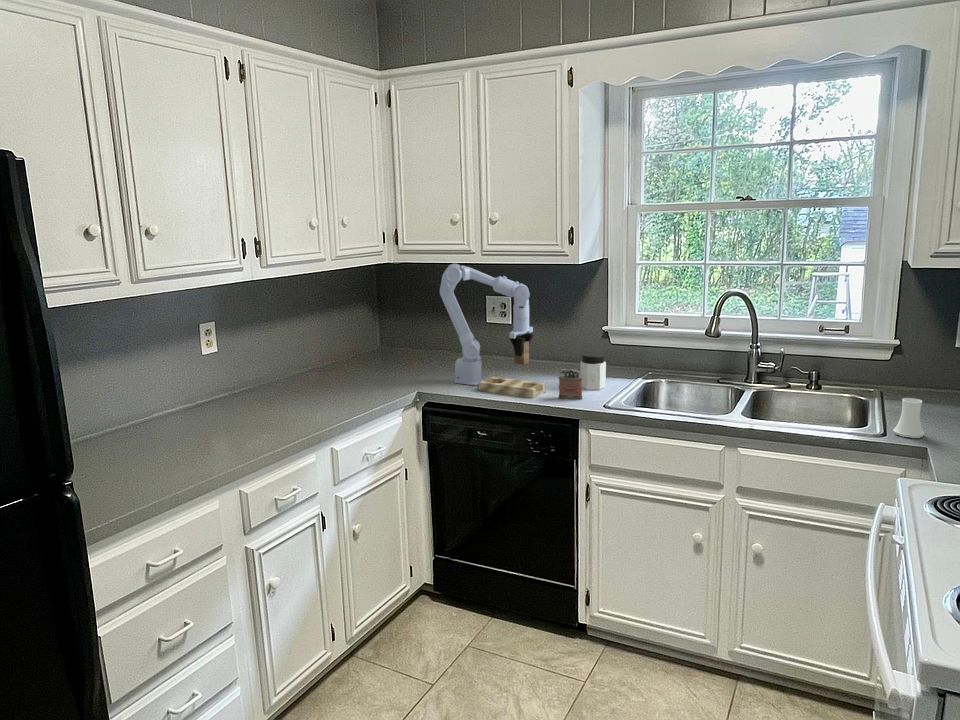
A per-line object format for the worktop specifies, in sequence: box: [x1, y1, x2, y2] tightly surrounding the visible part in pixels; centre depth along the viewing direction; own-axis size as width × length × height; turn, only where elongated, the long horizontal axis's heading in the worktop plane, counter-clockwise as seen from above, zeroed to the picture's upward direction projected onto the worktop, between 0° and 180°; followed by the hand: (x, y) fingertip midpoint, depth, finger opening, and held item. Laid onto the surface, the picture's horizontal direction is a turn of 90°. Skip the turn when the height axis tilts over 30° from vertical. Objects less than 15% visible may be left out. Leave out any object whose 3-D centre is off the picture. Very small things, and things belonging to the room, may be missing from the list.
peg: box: [513, 341, 530, 366], centre depth 269 cm, size 4×4×8 cm
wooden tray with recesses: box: [478, 376, 546, 399], centre depth 258 cm, size 22×10×3 cm, turn 59°
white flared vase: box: [892, 397, 925, 436], centre depth 204 cm, size 8×8×10 cm
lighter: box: [558, 368, 583, 401], centre depth 247 cm, size 8×3×10 cm, turn 74°
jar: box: [579, 351, 607, 391], centre depth 261 cm, size 9×8×12 cm
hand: (521, 354), depth 269 cm, fingers closed on peg, 4 cm apart
